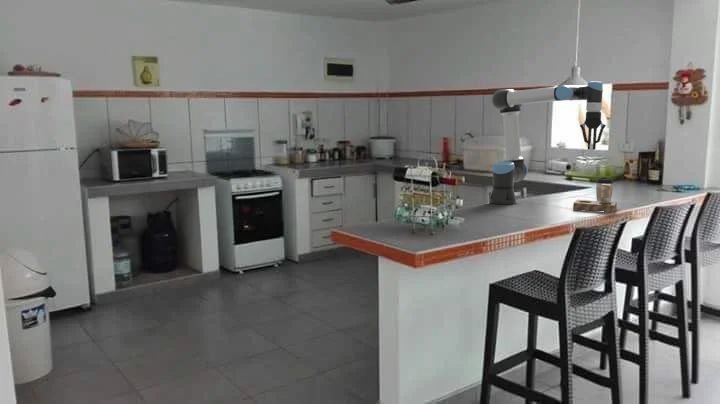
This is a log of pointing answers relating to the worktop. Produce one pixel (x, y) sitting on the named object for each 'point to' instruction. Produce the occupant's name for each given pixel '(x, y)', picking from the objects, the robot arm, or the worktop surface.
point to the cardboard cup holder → (594, 206)
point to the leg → (605, 193)
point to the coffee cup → (599, 186)
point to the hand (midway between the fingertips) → (591, 155)
